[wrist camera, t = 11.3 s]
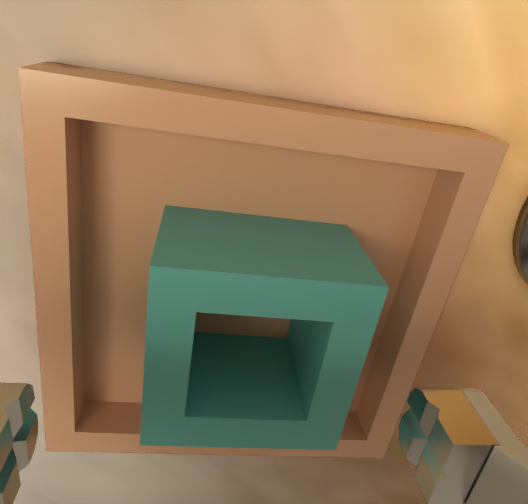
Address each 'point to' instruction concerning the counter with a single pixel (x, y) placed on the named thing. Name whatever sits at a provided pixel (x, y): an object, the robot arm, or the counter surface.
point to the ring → (255, 347)
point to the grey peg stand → (521, 242)
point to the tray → (228, 200)
